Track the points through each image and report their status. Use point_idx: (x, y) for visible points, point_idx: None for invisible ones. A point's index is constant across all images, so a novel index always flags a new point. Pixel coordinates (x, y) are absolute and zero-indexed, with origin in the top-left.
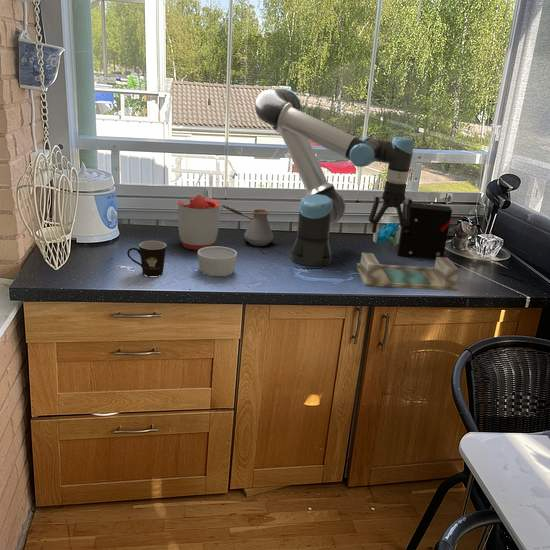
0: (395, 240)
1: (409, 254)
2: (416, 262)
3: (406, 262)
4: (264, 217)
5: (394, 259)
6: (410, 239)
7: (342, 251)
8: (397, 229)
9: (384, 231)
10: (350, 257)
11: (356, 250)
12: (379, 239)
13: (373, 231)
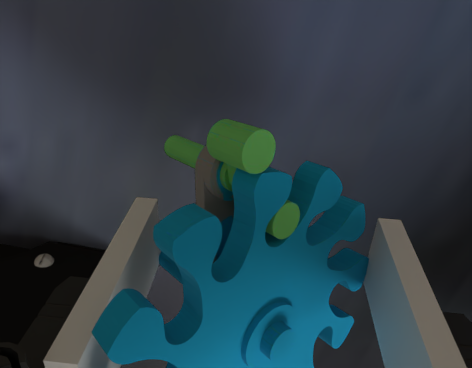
0: (154, 252)
1: (54, 253)
2: (21, 163)
3: (89, 158)
4: None
5: (162, 203)
6: (10, 337)
7: (458, 302)
8: (123, 310)
9: (292, 339)
10: (460, 217)
11: (359, 318)
12: (331, 262)
13: (465, 329)
